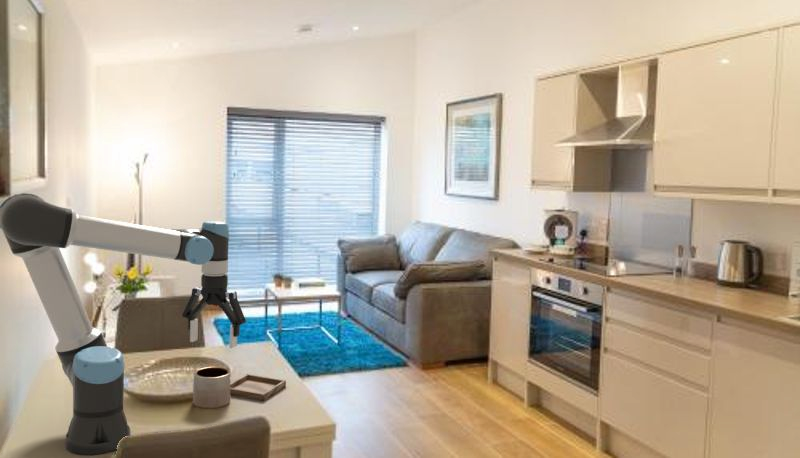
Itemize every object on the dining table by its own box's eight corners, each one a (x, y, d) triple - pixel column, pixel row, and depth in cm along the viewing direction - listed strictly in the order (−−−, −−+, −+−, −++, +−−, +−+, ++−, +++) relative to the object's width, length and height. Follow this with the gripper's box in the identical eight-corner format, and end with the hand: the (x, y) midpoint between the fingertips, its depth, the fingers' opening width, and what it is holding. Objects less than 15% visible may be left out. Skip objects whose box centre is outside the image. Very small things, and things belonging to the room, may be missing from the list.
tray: (263, 401, 201) (263, 394, 201) (222, 393, 205) (222, 387, 205) (285, 386, 215) (285, 380, 214) (247, 379, 219) (247, 373, 219)
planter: (184, 404, 195) (185, 373, 194) (211, 393, 205) (211, 363, 204) (212, 412, 190) (212, 380, 189) (237, 401, 200) (238, 370, 199)
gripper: (258, 276, 193) (256, 346, 196) (186, 267, 201) (185, 335, 203) (245, 280, 186) (243, 352, 188) (170, 271, 194) (169, 341, 196)
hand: (213, 343), depth 196 cm, fingers open, 13 cm apart
